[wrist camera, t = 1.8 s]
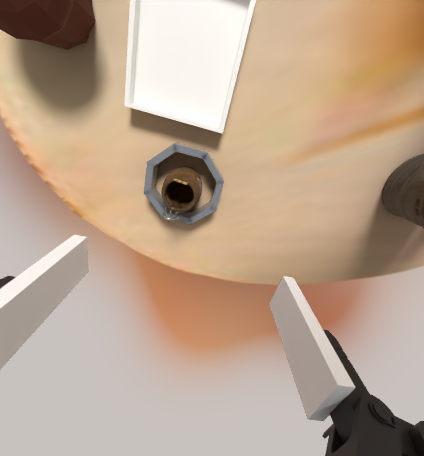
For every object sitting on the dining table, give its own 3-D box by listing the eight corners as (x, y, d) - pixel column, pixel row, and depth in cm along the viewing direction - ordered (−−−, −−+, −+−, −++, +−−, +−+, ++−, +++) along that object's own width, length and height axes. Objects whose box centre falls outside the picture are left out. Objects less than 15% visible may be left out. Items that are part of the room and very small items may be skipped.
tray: (141, -49, 23) (133, -69, 21) (256, -8, 24) (261, -22, 22) (131, 107, 30) (124, 105, 27) (221, 133, 31) (222, 133, 29)
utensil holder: (164, 194, 35) (143, 221, 24) (173, 159, 33) (154, 172, 22) (196, 204, 36) (189, 235, 25) (207, 171, 34) (205, 189, 23)
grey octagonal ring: (155, 136, 31) (149, 136, 29) (228, 156, 32) (230, 158, 30) (146, 206, 36) (141, 213, 34) (210, 222, 38) (210, 228, 35)
